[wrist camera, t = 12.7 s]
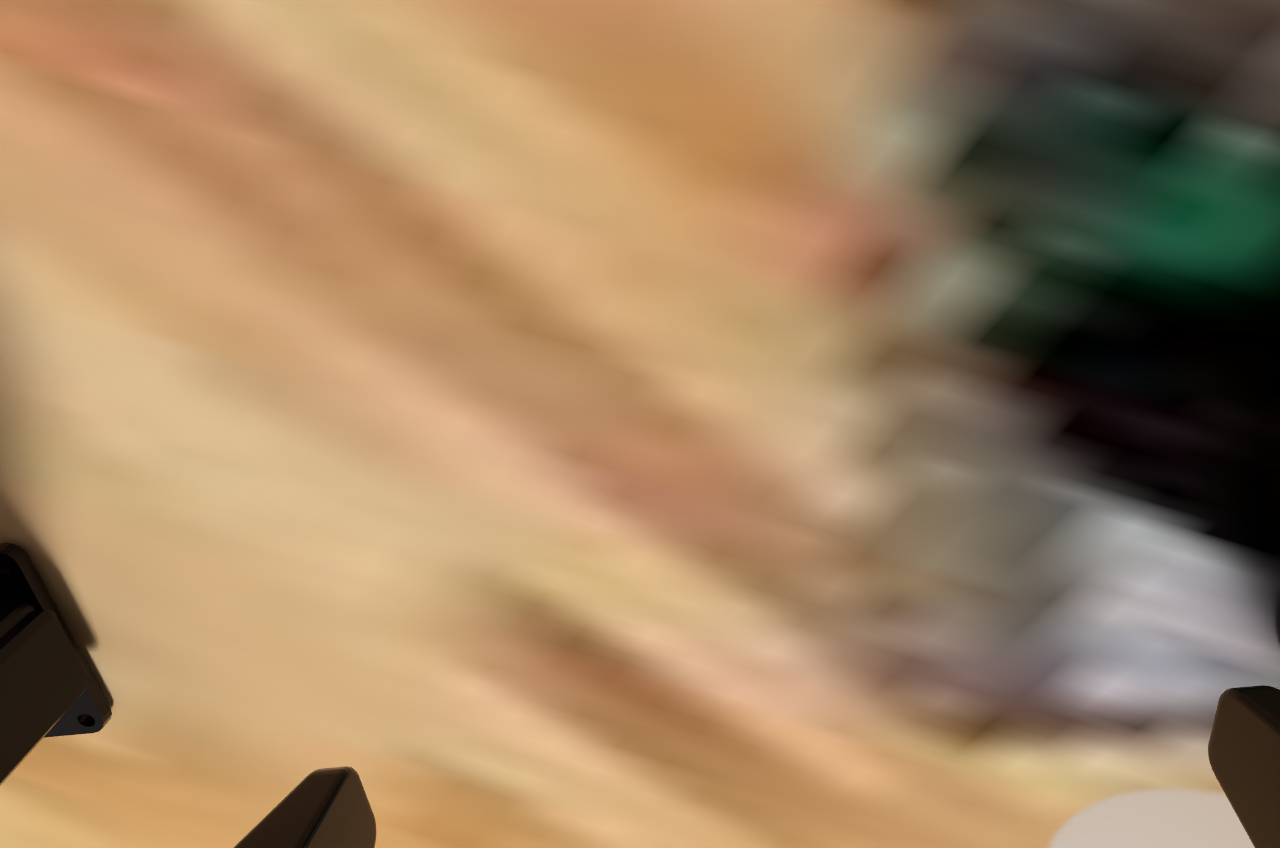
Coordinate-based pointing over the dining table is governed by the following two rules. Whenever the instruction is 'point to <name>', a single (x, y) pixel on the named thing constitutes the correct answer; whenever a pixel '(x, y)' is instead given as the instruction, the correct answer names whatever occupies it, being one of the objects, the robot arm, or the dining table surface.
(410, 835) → the dining table surface
